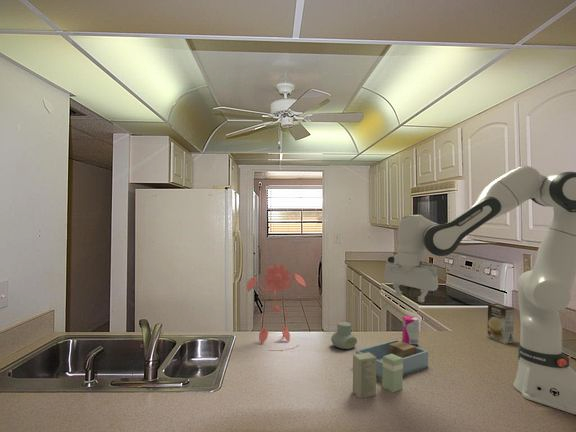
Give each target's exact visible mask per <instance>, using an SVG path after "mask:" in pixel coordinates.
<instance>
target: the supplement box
mask: <svg viewBox="0 0 576 432" xmlns="http://www.w3.org/2000/svg"><path fill="white" fill-rule="evenodd" d="M419 323H420V321H419V319H418V318H417V317H416V316H406V315H403V316H402V334H401V335H402V336H401V337H402V338H401V339H402V340H401V341H402V342H405V343H408V344H410V345H418V346H419Z"/></svg>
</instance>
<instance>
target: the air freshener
mask: <svg viewBox="0 0 576 432" xmlns="http://www.w3.org/2000/svg"><path fill="white" fill-rule="evenodd" d="M336 326H337V328H336V329H337V331H336V332H335V333H333V334H332V335H331V338H330V341H331V343H332V345H334V346H335V347H336V348H339V349H341V350H350V349H352V348H354V347H355V346H356V345H357V344H358V343H357V342H358V339H357V337H356V335H354V334H353V333H352V324H351V323H350V322H347V321H339V322H337V325H336Z"/></svg>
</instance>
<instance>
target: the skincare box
mask: <svg viewBox="0 0 576 432" xmlns="http://www.w3.org/2000/svg"><path fill="white" fill-rule="evenodd" d="M352 359H353V360H352V392H353V394H354V395H355V396H357V398H358V399H361V398H367V397H373V396H376V395H377V377H376V357H375V356H374V355H373V354H371V353H370V352H366V353H359V354H355V353H353V354H352Z"/></svg>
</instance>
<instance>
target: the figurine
mask: <svg viewBox="0 0 576 432" xmlns="http://www.w3.org/2000/svg"><path fill="white" fill-rule="evenodd" d="M266 272H267V273H265V274H264V275H263V279H264V281H263V286H264V287H269V288H267V289H264V288H263V286H262V285H261V284H260V283H259V282H258V280H257V278H256V276H253V277H251V278H250V279H249V280H248V281H247V284H246V289H247V292H250V291H251V290H252V289H254V288H255V286H256V283H257V285H258V286H259V287H260V288H261V290H262V291H263V292H267V291H270V292H271V293H273V299H274V304H275V306H273V308H272V309H271V310H270V311H268V312H264V313H263V314H262V317H263V319H262V320H263V322H265V315H266V314H269V313H271V312H273V311H274V312H275V313H277V312H282V313H284V314H285V316H287V312H286V311H283V310H281V309H280V307H279V306H278V304H277V301H276V292H279V293H280V292H282V290H289V288H290V287H291V284H292V283H293V281H294V279H295V281H296V282H297V283H298V284H299V285H301V286H303V287H304V288H306V287H307V286H306V281H305V280H304V278H303V277H302V276H301V275H300V274H298V273H296V272H294V273H293V276H291V275H290V272H291V270H290V269H286V266H285V264H284V263H281V264H280V265H277V264H273V266H267V267H266ZM288 282H289V283H288ZM284 318H285V319H284V320H285V321H284V326H283V327H282V329H281V331H282V333H281V334H282V337H281V338H282V339H285V340H286V341H287V342H290V341H291V340H290V339H291V333H290V331H289V329H288V328H287V327H286V326H287V317H284ZM265 324H266V323H263V328H261V330H259V333H258V340H259V342H260V344H264V343H265V341H266V340H267V339H268V336H269V330H268V328H266V327H265ZM297 347H298V345H296V346H295V347H292V348H287V349H286V351H288V350H291V349H295V348H297ZM270 351H271V352H273V351H274V352H276V351H279V352H283V349H281V350H280V349H277V350H276V349H275V350H272V349H270Z"/></svg>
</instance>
